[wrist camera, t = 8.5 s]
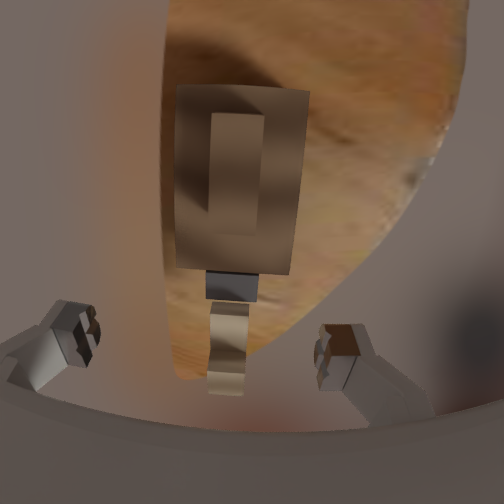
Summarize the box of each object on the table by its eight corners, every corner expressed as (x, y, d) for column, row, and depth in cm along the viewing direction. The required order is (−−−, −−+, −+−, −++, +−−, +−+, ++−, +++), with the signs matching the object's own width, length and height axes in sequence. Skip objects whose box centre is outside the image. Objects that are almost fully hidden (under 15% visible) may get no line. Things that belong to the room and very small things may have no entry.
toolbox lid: (182, 85, 24) (163, 81, 19) (305, 92, 24) (318, 89, 19) (181, 257, 32) (167, 288, 26) (286, 264, 32) (292, 296, 27)
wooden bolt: (212, 301, 31) (205, 334, 26) (249, 304, 31) (247, 337, 26) (213, 360, 35) (208, 393, 30) (244, 362, 35) (243, 396, 30)
